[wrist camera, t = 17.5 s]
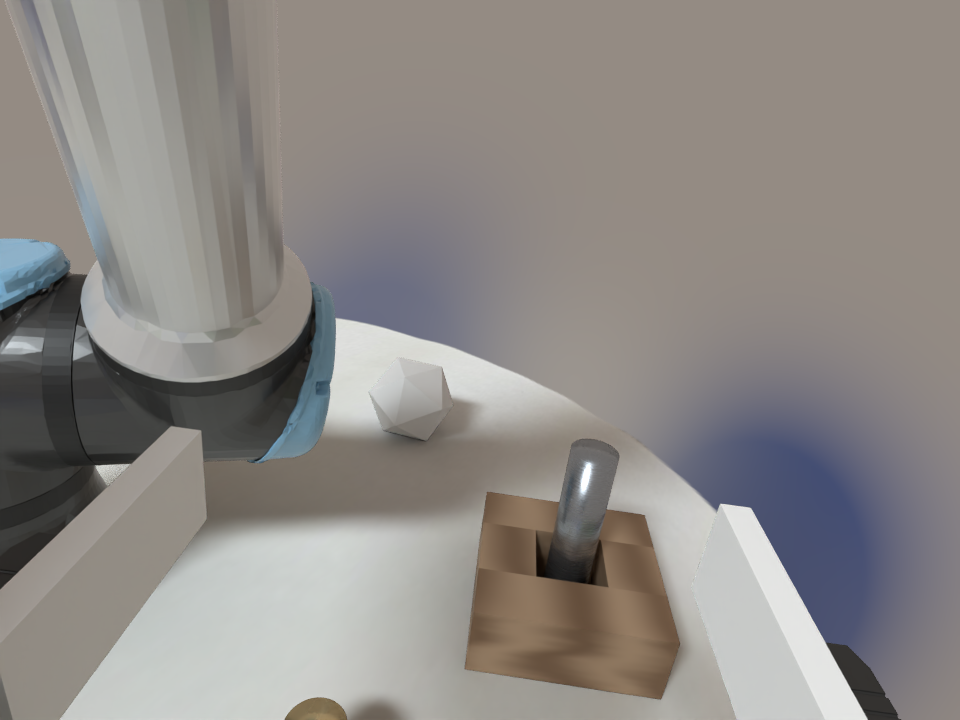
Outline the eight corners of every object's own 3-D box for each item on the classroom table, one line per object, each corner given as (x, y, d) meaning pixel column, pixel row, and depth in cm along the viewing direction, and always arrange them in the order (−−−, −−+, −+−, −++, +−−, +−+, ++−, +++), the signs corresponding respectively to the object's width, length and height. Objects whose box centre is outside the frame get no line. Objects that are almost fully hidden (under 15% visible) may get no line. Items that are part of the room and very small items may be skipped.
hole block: (464, 669, 41) (473, 612, 39) (479, 540, 53) (487, 491, 51) (660, 699, 40) (679, 643, 38) (631, 562, 52) (644, 514, 50)
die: (459, 427, 71) (432, 349, 72) (465, 428, 63) (434, 339, 63) (391, 452, 70) (364, 372, 71) (388, 456, 62) (357, 365, 62)
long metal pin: (529, 601, 47) (561, 443, 41) (561, 589, 48) (597, 435, 43) (555, 632, 44) (593, 469, 39) (588, 618, 46) (629, 459, 41)
